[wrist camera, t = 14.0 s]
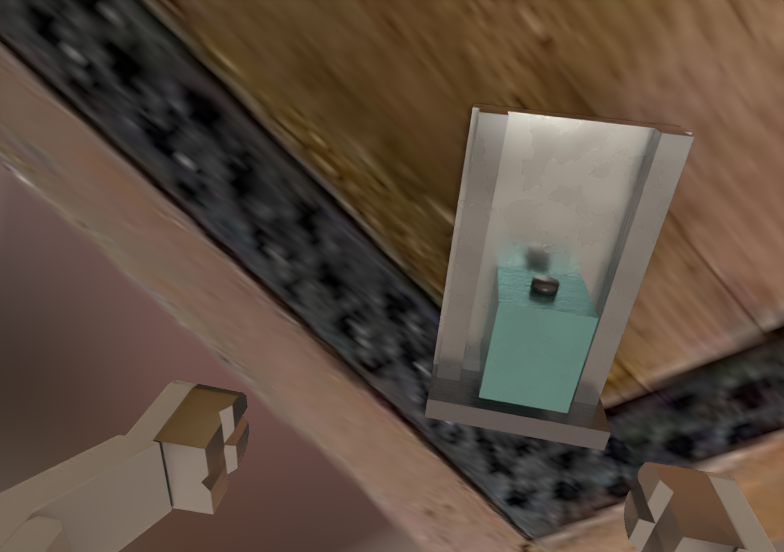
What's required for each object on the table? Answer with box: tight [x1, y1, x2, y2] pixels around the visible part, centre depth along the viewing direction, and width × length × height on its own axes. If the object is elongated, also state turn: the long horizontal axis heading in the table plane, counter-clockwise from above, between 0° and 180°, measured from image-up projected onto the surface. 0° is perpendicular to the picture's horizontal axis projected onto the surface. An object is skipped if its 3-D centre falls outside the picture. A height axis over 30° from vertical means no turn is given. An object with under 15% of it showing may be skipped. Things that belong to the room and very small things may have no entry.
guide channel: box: [425, 103, 694, 450], centre depth 31 cm, size 12×20×6 cm, turn 175°
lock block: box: [479, 265, 598, 413], centre depth 31 cm, size 6×8×5 cm
